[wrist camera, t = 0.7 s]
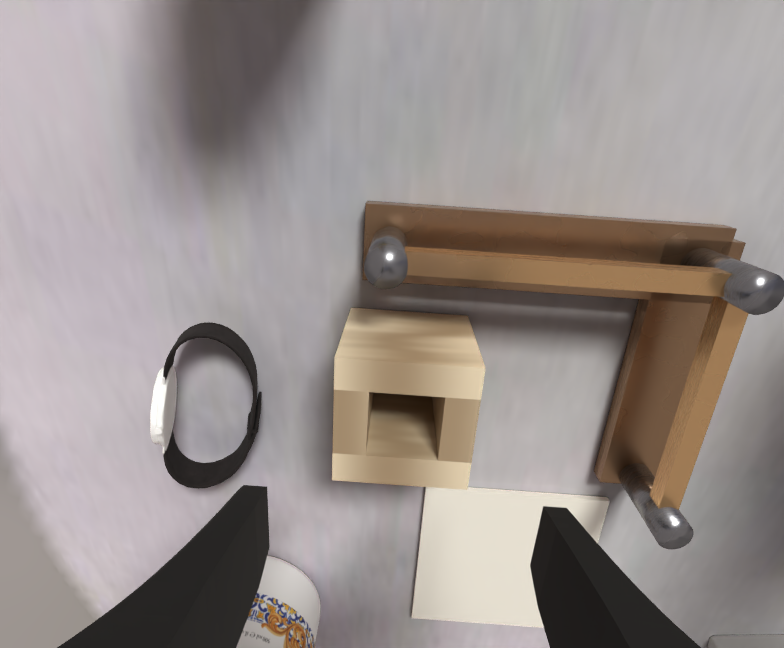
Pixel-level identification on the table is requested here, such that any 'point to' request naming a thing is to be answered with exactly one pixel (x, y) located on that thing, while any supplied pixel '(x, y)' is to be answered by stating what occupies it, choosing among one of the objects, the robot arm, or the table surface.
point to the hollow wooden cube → (406, 399)
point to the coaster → (487, 552)
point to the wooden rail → (608, 279)
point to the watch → (165, 411)
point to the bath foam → (282, 609)
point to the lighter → (746, 641)
